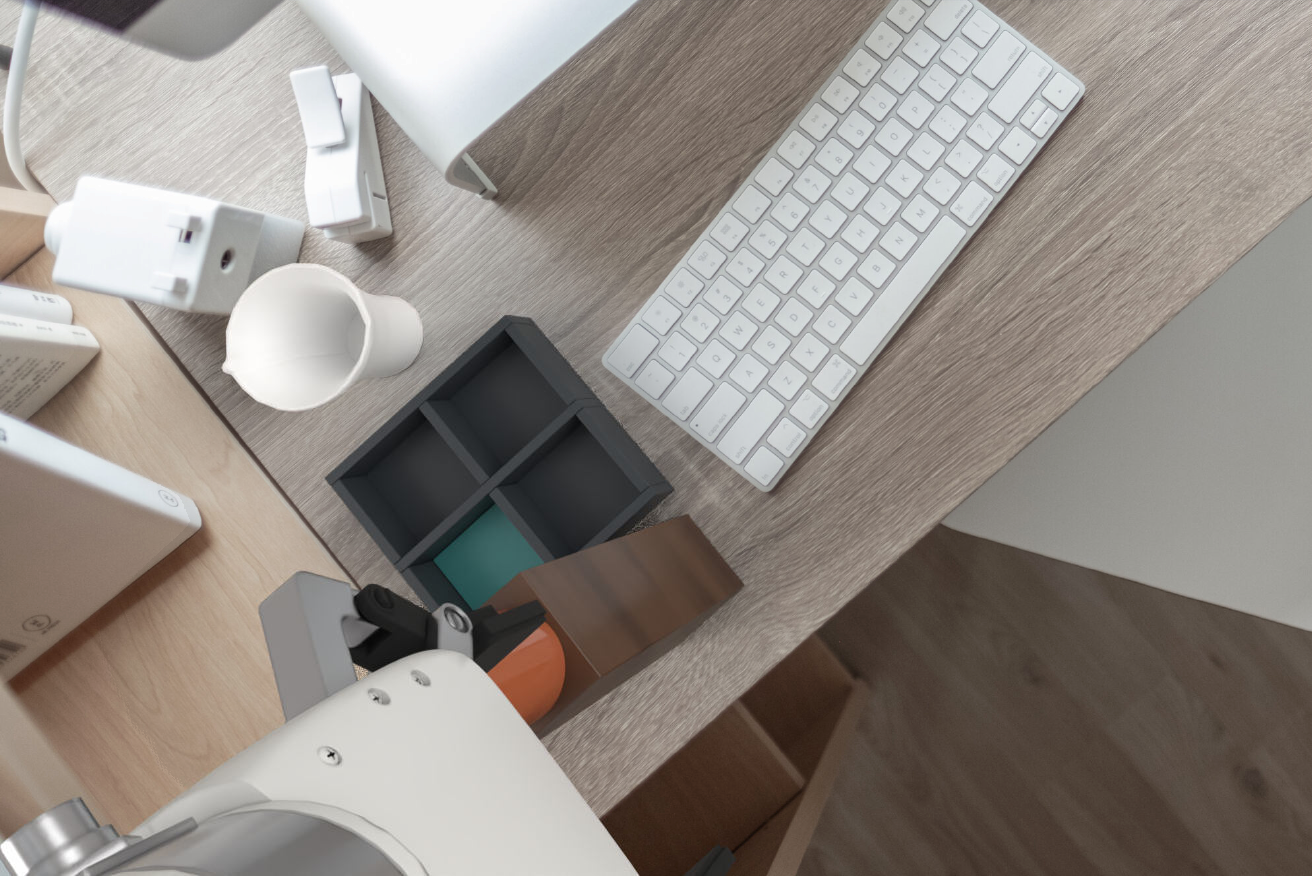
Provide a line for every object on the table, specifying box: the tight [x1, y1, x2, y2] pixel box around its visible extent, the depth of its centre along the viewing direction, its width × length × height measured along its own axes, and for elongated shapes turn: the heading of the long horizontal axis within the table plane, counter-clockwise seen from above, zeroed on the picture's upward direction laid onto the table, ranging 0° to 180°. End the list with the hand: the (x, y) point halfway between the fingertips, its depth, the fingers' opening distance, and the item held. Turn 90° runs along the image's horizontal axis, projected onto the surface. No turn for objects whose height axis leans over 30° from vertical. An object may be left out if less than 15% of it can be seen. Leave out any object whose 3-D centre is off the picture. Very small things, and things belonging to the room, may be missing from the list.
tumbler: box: [487, 609, 565, 726], centre depth 48 cm, size 5×5×8 cm
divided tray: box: [324, 314, 675, 614], centre depth 76 cm, size 15×15×4 cm
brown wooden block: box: [478, 513, 745, 741], centre depth 64 cm, size 6×6×24 cm
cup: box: [221, 262, 424, 413], centre depth 74 cm, size 9×9×10 cm
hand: (599, 758), depth 37 cm, fingers open, 9 cm apart
